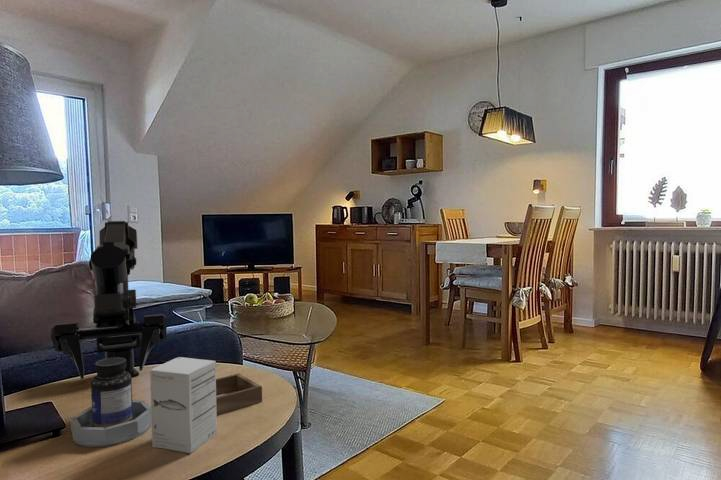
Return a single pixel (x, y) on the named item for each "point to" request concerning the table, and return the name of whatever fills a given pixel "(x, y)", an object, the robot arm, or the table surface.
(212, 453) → the table surface
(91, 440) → the tray
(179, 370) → the supplement box
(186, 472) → the table surface
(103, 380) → the pill bottle
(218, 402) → the holder
